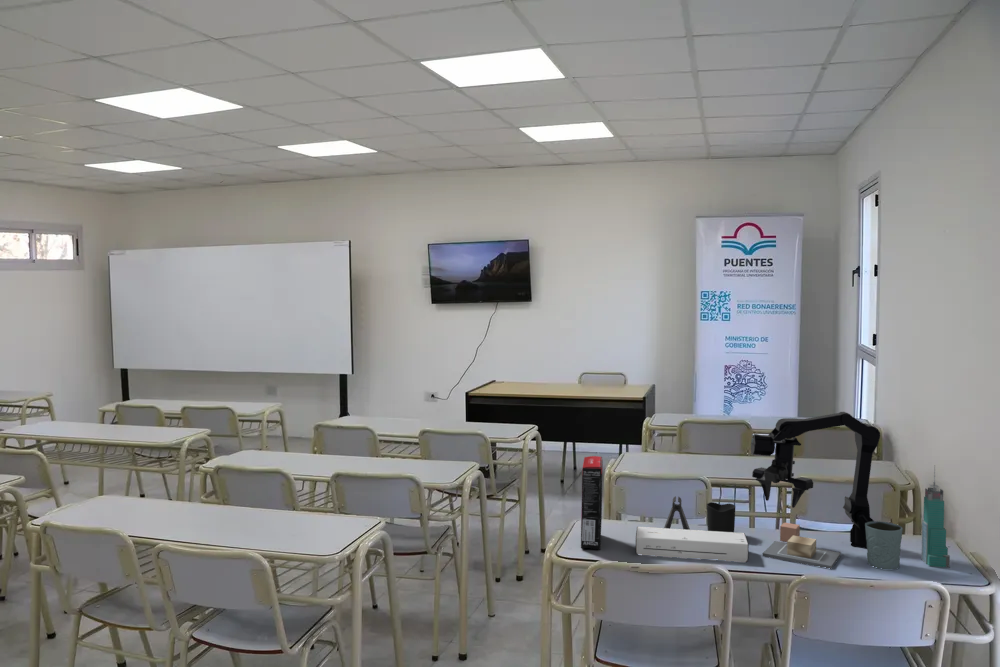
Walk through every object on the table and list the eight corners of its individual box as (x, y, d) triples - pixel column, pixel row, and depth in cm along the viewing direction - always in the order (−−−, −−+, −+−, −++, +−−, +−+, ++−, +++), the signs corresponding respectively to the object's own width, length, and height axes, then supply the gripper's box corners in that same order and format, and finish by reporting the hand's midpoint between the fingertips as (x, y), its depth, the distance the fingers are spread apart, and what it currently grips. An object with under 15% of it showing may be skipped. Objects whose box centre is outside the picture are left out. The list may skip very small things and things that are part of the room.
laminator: (635, 556, 233) (635, 536, 233) (637, 543, 245) (637, 525, 245) (748, 564, 226) (748, 544, 226) (744, 550, 238) (744, 531, 238)
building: (943, 560, 226) (945, 463, 225) (950, 567, 220) (952, 468, 219) (921, 559, 228) (923, 463, 226) (928, 566, 222) (930, 467, 220)
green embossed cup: (873, 570, 218) (874, 530, 218) (858, 558, 229) (859, 520, 228) (908, 570, 218) (909, 530, 218) (891, 558, 228) (892, 520, 228)
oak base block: (816, 551, 232) (816, 539, 232) (810, 558, 226) (811, 545, 226) (792, 547, 236) (793, 535, 236) (787, 553, 230) (787, 541, 230)
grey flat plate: (840, 555, 231) (840, 552, 231) (831, 569, 220) (831, 565, 220) (774, 543, 243) (774, 540, 243) (762, 556, 231) (762, 552, 231)
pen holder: (719, 528, 260) (720, 500, 259) (741, 535, 251) (741, 506, 251) (700, 533, 255) (700, 504, 254) (721, 540, 247) (722, 511, 246)
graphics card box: (582, 533, 255) (582, 455, 254) (602, 534, 254) (602, 455, 253) (580, 550, 238) (580, 466, 237) (602, 551, 237) (602, 467, 236)
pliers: (690, 531, 257) (690, 497, 256) (690, 536, 251) (690, 501, 250) (663, 529, 259) (663, 495, 258) (663, 534, 253) (663, 500, 253)
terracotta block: (799, 539, 247) (799, 524, 247) (795, 543, 243) (795, 528, 243) (784, 536, 250) (784, 522, 250) (780, 540, 246) (780, 526, 246)
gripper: (745, 454, 245) (741, 500, 246) (799, 466, 231) (795, 515, 232) (762, 450, 252) (759, 495, 253) (815, 462, 238) (811, 509, 239)
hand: (780, 503), depth 244 cm, fingers open, 9 cm apart
